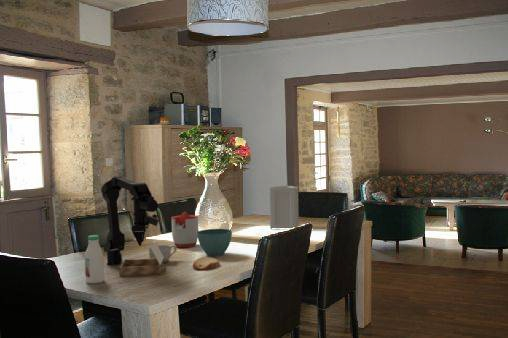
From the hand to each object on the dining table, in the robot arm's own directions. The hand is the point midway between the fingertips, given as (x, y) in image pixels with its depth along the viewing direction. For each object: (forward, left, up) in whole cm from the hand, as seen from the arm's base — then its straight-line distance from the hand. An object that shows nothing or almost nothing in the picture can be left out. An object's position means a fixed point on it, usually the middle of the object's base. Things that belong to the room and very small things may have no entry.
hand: (141, 243), depth 251 cm
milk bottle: (-18, -17, -13) cm, 28 cm away
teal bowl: (+34, +30, -13) cm, 47 cm away
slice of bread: (+29, +6, -13) cm, 32 cm away
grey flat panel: (+7, -1, -4) cm, 8 cm away
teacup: (+8, +18, -13) cm, 24 cm away
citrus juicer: (+17, +56, -13) cm, 60 cm away
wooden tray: (0, -1, -13) cm, 13 cm away
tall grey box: (+83, +109, -13) cm, 138 cm away
